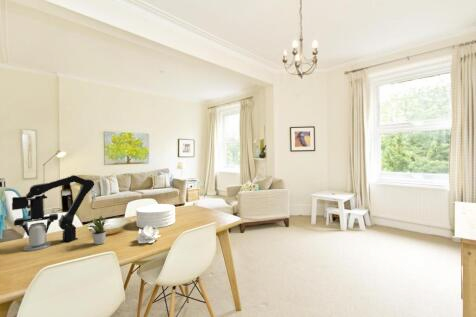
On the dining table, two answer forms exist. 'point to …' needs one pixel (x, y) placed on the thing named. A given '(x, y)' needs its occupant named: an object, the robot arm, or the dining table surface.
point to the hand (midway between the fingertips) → (37, 234)
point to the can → (37, 234)
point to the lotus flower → (147, 235)
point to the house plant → (98, 230)
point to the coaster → (37, 247)
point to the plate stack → (155, 215)
